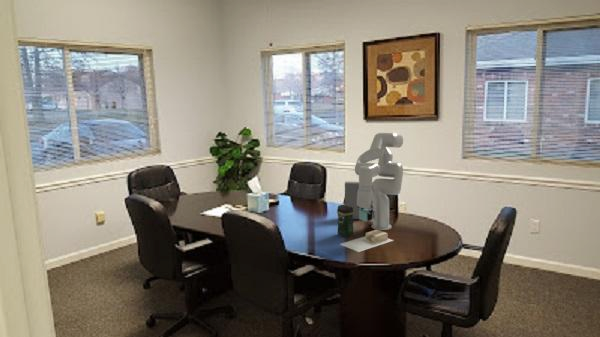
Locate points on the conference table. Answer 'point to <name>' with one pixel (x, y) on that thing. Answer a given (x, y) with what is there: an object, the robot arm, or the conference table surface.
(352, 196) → the cassette tape recorder
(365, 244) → the felt mat
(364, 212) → the teal cube
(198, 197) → the conference table surface
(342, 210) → the coffee jar
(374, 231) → the maple block
